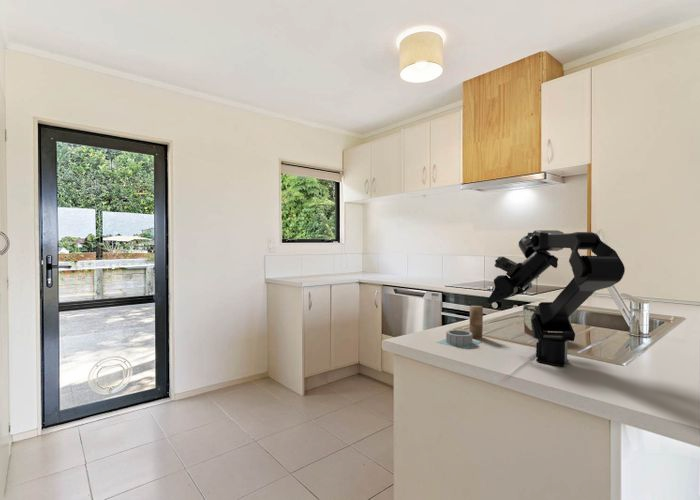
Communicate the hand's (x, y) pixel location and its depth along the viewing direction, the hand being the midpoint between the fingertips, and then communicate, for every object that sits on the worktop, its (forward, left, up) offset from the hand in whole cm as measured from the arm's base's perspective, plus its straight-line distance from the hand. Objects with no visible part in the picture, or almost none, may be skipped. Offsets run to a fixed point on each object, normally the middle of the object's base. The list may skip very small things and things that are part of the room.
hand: (493, 300), depth 113 cm
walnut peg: (+6, 0, -14) cm, 15 cm away
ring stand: (+7, +10, -14) cm, 18 cm away
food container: (-8, -20, -14) cm, 26 cm away
